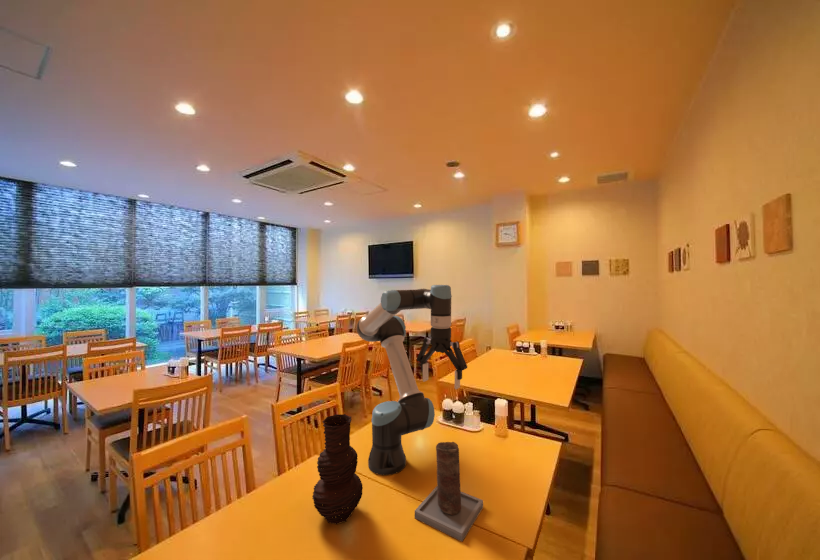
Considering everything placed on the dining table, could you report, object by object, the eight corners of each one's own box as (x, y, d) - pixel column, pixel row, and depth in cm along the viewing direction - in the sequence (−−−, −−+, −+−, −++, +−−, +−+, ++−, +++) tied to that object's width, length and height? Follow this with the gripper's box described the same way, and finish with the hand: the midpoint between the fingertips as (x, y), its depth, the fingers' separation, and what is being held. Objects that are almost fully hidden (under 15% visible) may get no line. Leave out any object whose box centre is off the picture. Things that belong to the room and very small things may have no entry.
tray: (414, 518, 98) (414, 510, 98) (439, 489, 111) (439, 482, 111) (462, 541, 89) (462, 533, 89) (483, 507, 102) (483, 500, 102)
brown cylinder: (434, 512, 98) (433, 448, 98) (440, 497, 105) (439, 436, 105) (458, 518, 95) (457, 452, 95) (463, 502, 102) (462, 441, 102)
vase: (321, 497, 108) (320, 409, 108) (366, 498, 107) (365, 409, 107) (305, 534, 92) (303, 431, 92) (357, 534, 92) (356, 431, 92)
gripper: (407, 324, 121) (407, 380, 121) (467, 332, 106) (467, 394, 106) (418, 322, 127) (418, 375, 127) (476, 328, 112) (476, 388, 112)
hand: (440, 384), depth 117 cm, fingers open, 13 cm apart
